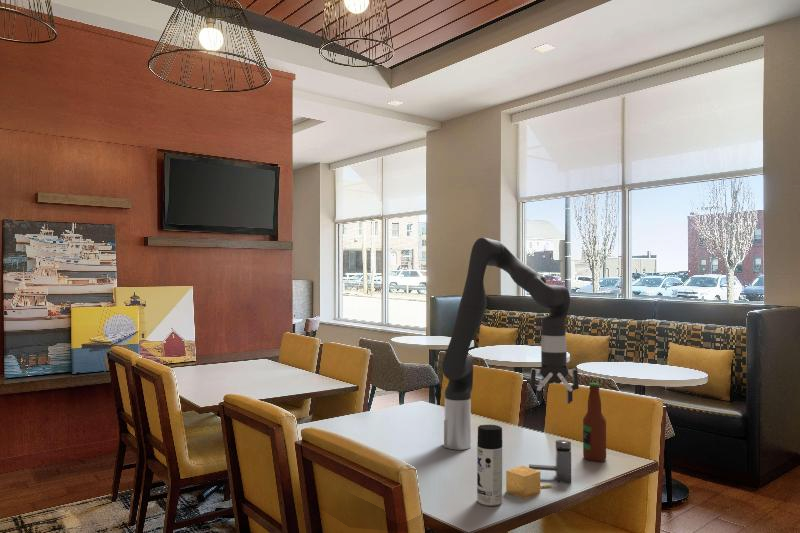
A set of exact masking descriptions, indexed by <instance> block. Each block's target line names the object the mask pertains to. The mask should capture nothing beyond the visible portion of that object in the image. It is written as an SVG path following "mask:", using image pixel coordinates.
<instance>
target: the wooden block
mask: <svg viewBox="0 0 800 533" xmlns="http://www.w3.org/2000/svg"><path fill="white" fill-rule="evenodd" d="M505 475H506V477H505V478H506V479H505V480H506V481H505V484H506V487H505V488H506V489H505V492H506V493H509V494H511V495H514V496H516V497H519V498H522V499H528V498H530V497H532V496H534V495H537V494H540V493H541V488H540V484H541V470H535V469H531V468H529V466H525V465H519V466H516V467H513V468H510V469H507V470H506V471H505Z"/></svg>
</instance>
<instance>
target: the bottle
mask: <svg viewBox="0 0 800 533" xmlns="http://www.w3.org/2000/svg"><path fill="white" fill-rule="evenodd" d="M588 385H589V388H588V390H589V393H588V399H587V412H586V413H585V415H584V417H583V418H582V434H583V435H582V452H583V453H582V456H583V458H584V459H585V460H587V461H589V462H595V463H601V462H604V461H605V460H606V459H607V419H606V418H605V416H604V415H603V412H602V402H601V395H600V384H599V383H598V382H590V383H589V384H588Z"/></svg>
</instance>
